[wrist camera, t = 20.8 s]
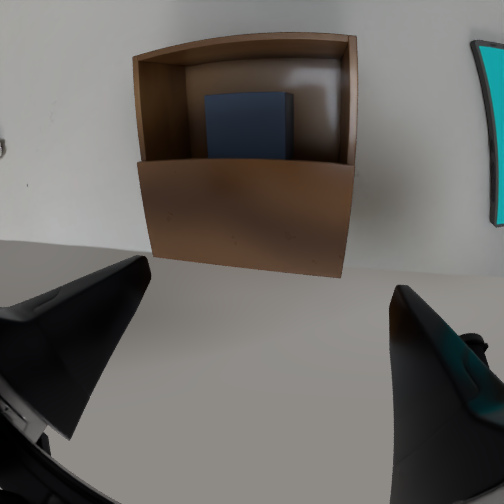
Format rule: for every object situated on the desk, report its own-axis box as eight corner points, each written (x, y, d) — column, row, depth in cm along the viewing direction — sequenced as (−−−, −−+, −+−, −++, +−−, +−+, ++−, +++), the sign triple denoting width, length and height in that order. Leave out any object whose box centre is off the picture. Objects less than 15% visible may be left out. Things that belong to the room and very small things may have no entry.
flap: (340, 275, 15) (340, 278, 15) (155, 254, 18) (153, 257, 18) (354, 164, 12) (355, 165, 12) (139, 161, 15) (136, 162, 14)
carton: (338, 225, 21) (341, 272, 16) (195, 214, 23) (157, 252, 18) (346, 56, 14) (356, 35, 9) (183, 63, 17) (132, 56, 12)
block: (293, 94, 16) (284, 91, 13) (293, 156, 19) (285, 172, 15) (229, 95, 17) (203, 95, 14) (232, 154, 20) (208, 169, 16)
